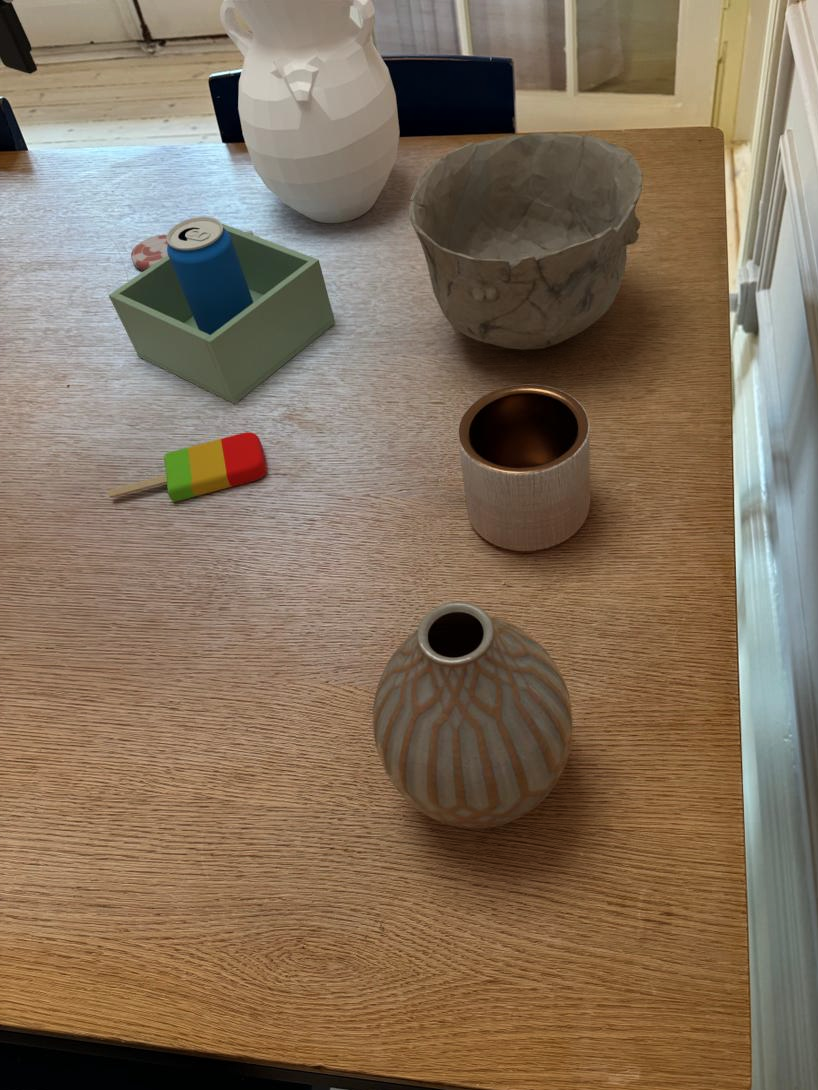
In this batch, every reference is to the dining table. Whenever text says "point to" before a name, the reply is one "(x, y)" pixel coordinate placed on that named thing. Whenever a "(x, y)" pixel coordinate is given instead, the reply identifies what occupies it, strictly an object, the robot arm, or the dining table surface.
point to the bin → (246, 340)
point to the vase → (472, 719)
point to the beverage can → (208, 271)
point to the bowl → (527, 234)
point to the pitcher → (315, 103)
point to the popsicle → (206, 468)
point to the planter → (526, 466)
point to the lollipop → (151, 251)
